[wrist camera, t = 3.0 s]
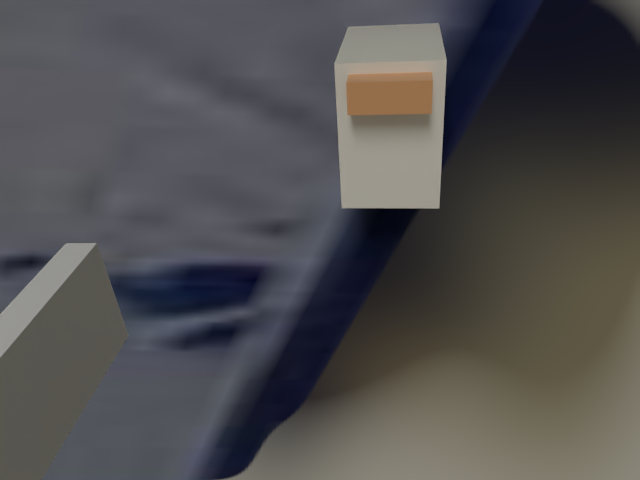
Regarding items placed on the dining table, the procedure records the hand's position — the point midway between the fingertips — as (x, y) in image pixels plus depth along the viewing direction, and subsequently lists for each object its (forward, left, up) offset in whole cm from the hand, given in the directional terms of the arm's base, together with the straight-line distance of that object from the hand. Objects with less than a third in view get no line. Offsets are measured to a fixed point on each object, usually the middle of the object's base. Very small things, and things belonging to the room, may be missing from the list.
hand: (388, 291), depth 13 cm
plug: (0, -1, -17) cm, 17 cm away
